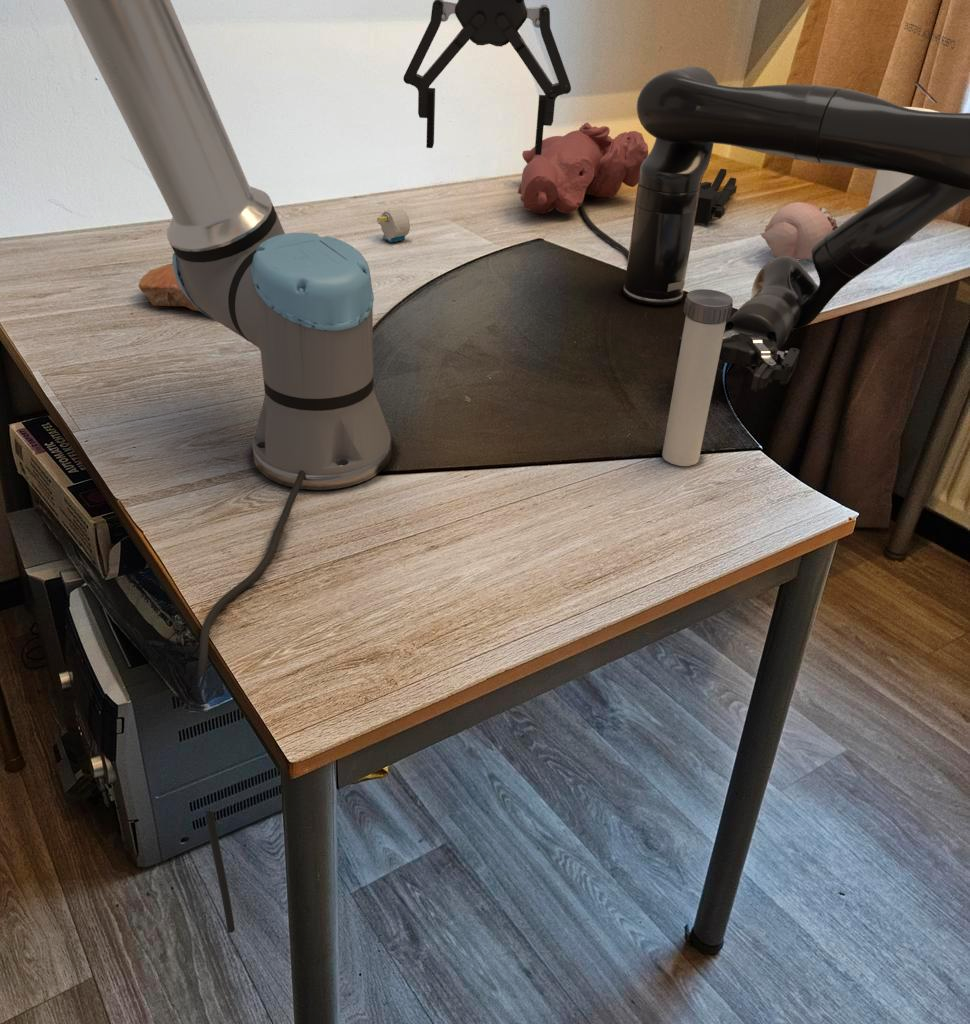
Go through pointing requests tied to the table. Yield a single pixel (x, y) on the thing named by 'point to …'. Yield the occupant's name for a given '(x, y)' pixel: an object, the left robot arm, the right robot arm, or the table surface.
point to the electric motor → (394, 225)
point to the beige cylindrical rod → (692, 391)
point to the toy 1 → (714, 198)
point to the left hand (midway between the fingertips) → (484, 149)
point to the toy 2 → (797, 230)
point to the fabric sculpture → (580, 168)
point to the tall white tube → (891, 179)
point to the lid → (708, 306)
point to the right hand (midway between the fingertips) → (720, 374)
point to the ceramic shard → (164, 288)
